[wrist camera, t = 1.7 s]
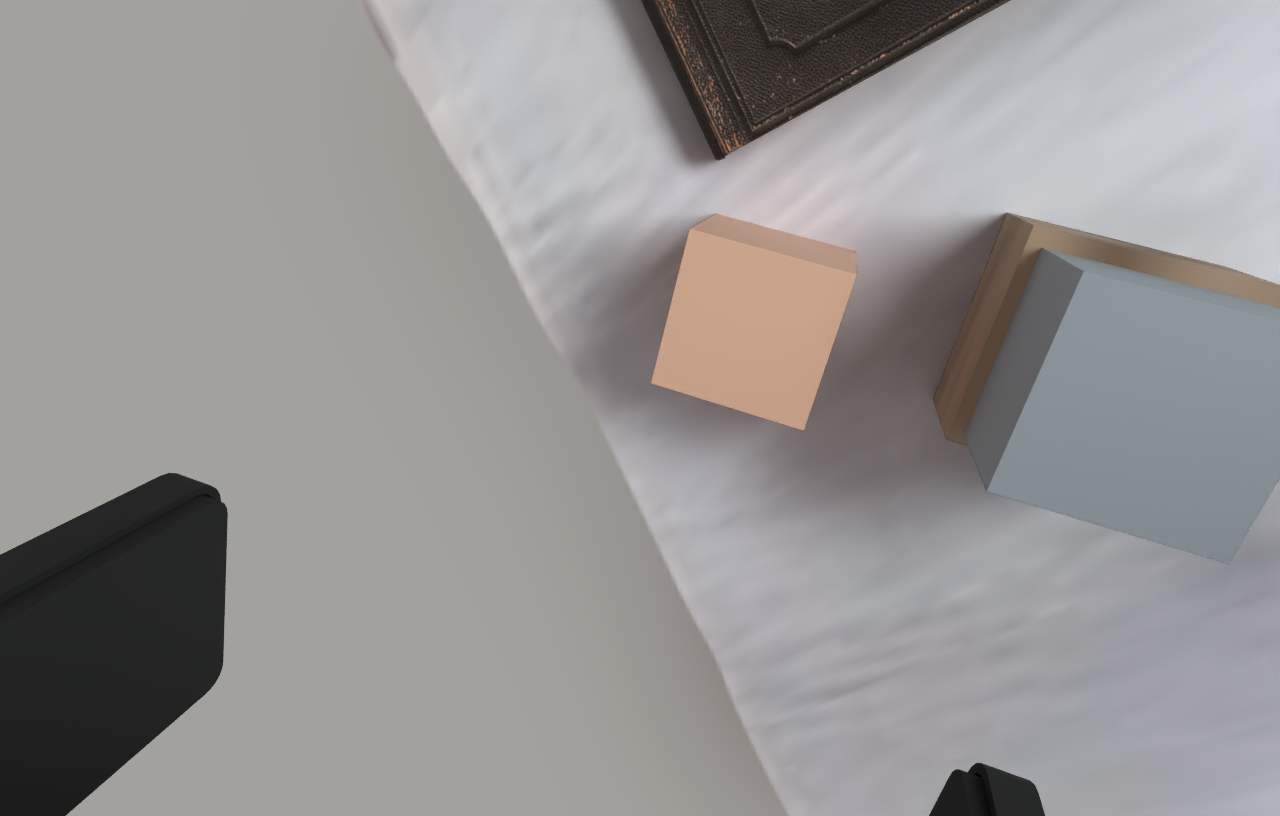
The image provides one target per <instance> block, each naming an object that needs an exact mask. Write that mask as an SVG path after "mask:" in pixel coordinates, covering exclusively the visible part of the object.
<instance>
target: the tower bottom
mask: <svg viewBox="0 0 1280 816" xmlns="http://www.w3.org/2000/svg"><path fill="white" fill-rule="evenodd" d="M1042 248H1045V249H1049V250H1053V251H1057V252H1061V253H1065V254H1069V255H1073V256H1078V257H1082V258H1086V259H1090V260H1094V261H1098V262H1102V263H1106V264H1110V265H1114V266H1118V267H1122V268H1126V269H1130V270H1134V271H1138V272H1142V273H1146V274H1150V275H1154V276H1158V277H1162V278H1166V279H1170V280H1174V281H1178V282H1182V283H1186V284H1190V285H1194V286H1198V287H1202V288H1206V289H1210V290H1214V291H1218V292H1222V293H1226V294H1230V295H1234V296H1238V297H1242V298H1246V299H1250V300H1254V301H1258V302H1262V303H1266V304H1269V305H1272V306H1274V307H1277V308H1279V309H1280V285H1278V284H1275V283H1272V282H1269V281H1266V280H1263V279H1260V278H1257V277H1254V276H1252V275H1249V274H1246V273H1243V272H1240V271H1237V270H1234V269H1231V268H1228V267H1225V266H1221V265H1217V264H1213V263H1209V262H1205V261H1201V260H1197V259H1193V258H1188V257H1184V256H1180V255H1176V254H1172V253H1168V252H1164V251H1160V250H1156V249H1152V248H1148V247H1144V246H1140V245H1136V244H1132V243H1128V242H1124V241H1120V240H1116V239H1112V238H1108V237H1104V236H1100V235H1096V234H1092V233H1088V232H1083V231H1079V230H1075V229H1071V228H1067V227H1063V226H1059V225H1055V224H1051V223H1047V222H1043V221H1039V220H1035V219H1031V218H1027V217H1023V216H1019V215H1015V214H1011V213H1007V214H1006V216H1005V219H1004V221H1003V224H1002V226H1001V229H1000V231H999V234H998V236H997V239H996V241H995V244H994V247H993V249H992V252H991V254H990V257H989V259H988V262H987V264H986V267H985V269H984V272H983V274H982V277H981V279H980V282H979V284H978V287H977V290H976V292H975V295H974V297H973V300H972V302H971V305H970V307H969V310H968V312H967V315H966V317H965V320H964V322H963V325H962V327H961V330H960V333H959V335H958V338H957V340H956V343H955V345H954V348H953V350H952V353H951V355H950V358H949V360H948V363H947V365H946V368H945V370H944V373H943V376H942V378H941V381H940V383H939V386H938V388H937V391H936V393H935V396H934V398H933V401H934V404H935V407H936V410H937V413H938V416H939V419H940V422H941V426H942V429H943V432H944V435H945V438H946V440H950V441H953V442H957V443H960V444H963V445H967V446H969V445H968V442H967V440H966V437H965V432H966V430H967V427H968V425H969V423H970V420H971V418H972V415H973V413H974V411H975V408H976V406H977V403H978V401H979V399H980V396H981V394H982V391H983V389H984V387H985V384H986V382H987V379H988V377H989V375H990V372H991V370H992V367H993V365H994V363H995V360H996V358H997V355H998V353H999V350H1000V348H1001V346H1002V343H1003V341H1004V338H1005V336H1006V334H1007V331H1008V329H1009V326H1010V324H1011V322H1012V319H1013V317H1014V314H1015V312H1016V310H1017V307H1018V305H1019V302H1020V300H1021V298H1022V295H1023V293H1024V290H1025V288H1026V285H1027V283H1028V281H1029V278H1030V276H1031V273H1032V271H1033V269H1034V266H1035V264H1036V261H1037V259H1038V257H1039V254H1040V252H1041V249H1042Z"/></svg>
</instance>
